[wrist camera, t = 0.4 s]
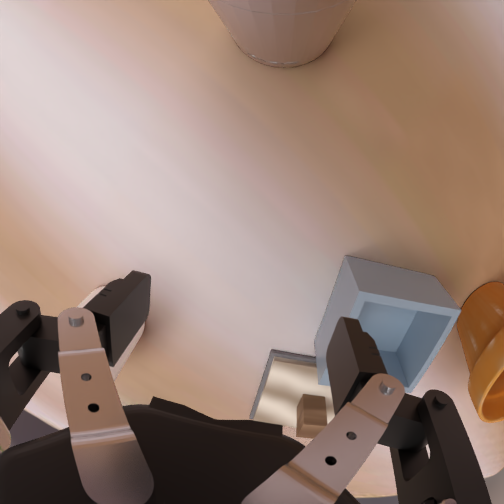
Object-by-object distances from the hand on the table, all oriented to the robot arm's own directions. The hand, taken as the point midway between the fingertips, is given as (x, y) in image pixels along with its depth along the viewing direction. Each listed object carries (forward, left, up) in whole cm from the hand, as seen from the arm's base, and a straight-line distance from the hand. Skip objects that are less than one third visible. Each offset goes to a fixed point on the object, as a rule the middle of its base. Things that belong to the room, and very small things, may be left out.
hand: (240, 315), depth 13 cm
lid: (+24, +11, -17) cm, 31 cm away
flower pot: (+6, +30, -18) cm, 36 cm away
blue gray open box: (+9, +14, -18) cm, 24 cm away
